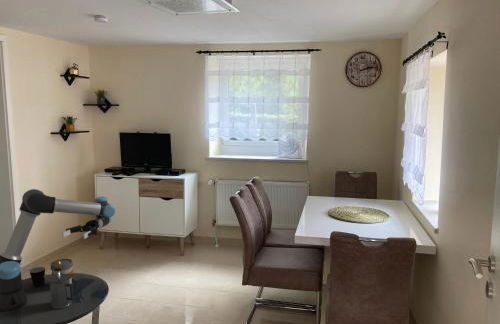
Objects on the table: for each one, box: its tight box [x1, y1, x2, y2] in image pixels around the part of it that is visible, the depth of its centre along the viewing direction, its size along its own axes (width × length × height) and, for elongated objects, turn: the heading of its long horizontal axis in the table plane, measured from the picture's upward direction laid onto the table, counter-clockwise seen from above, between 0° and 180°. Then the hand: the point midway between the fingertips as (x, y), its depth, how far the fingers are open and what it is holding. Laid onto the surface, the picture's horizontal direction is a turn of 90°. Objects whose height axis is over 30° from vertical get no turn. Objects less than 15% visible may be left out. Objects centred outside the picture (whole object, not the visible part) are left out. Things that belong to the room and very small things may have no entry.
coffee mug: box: [29, 266, 46, 288], centre depth 258 cm, size 12×9×10 cm
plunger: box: [53, 259, 62, 278], centre depth 230 cm, size 7×7×22 cm
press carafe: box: [44, 273, 75, 310], centre depth 230 cm, size 13×10×16 cm
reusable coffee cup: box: [50, 258, 74, 284], centre depth 255 cm, size 12×13×15 cm
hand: (73, 235), depth 241 cm, fingers open, 13 cm apart
